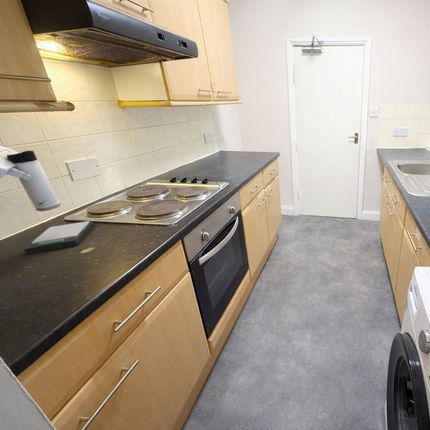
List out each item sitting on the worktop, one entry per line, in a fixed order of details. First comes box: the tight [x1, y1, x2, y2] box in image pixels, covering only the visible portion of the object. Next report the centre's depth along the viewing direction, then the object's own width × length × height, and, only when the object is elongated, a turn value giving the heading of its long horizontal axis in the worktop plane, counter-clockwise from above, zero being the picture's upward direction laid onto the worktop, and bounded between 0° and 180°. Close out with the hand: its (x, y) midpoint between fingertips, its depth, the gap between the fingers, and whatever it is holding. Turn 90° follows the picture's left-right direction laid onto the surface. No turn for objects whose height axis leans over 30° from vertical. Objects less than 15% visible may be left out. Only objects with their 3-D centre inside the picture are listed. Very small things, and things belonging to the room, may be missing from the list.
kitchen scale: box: [24, 220, 96, 255], centre depth 97 cm, size 14×16×3 cm
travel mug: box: [7, 150, 61, 212], centre depth 89 cm, size 6×7×20 cm
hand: (35, 175), depth 88 cm, fingers closed on travel mug, 6 cm apart
